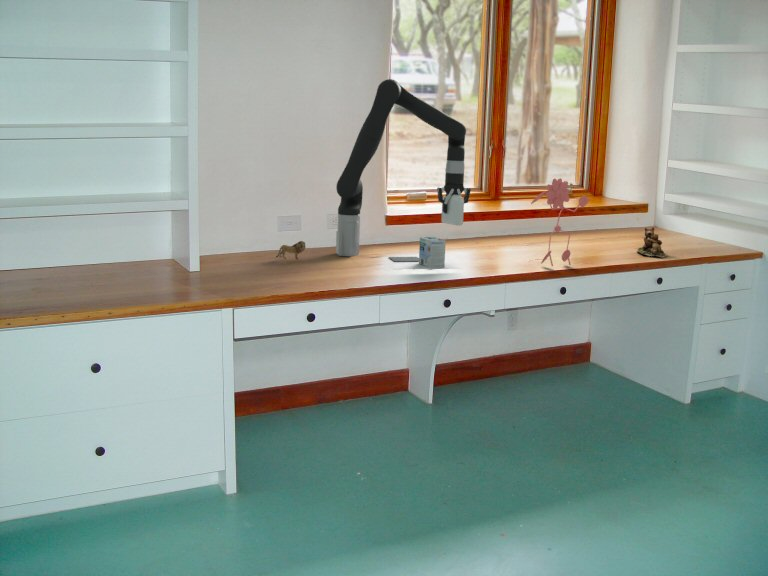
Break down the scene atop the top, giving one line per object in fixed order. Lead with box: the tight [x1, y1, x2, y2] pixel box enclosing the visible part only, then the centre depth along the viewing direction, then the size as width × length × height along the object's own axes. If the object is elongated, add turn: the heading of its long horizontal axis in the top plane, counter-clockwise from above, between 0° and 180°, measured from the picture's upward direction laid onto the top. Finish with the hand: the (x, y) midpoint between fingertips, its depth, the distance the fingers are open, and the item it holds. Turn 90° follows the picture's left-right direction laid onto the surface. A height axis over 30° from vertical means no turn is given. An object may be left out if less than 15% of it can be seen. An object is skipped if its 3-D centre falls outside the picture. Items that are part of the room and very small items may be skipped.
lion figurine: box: [275, 240, 306, 261], centre depth 362 cm, size 12×4×7 cm, turn 93°
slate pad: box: [388, 256, 419, 263], centre depth 368 cm, size 12×10×1 cm
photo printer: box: [441, 195, 465, 226], centre depth 368 cm, size 10×4×12 cm, turn 39°
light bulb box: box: [418, 236, 447, 269], centre depth 357 cm, size 11×7×11 cm, turn 23°
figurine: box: [528, 177, 589, 267], centre depth 369 cm, size 15×26×35 cm, turn 118°
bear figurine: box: [636, 227, 668, 258], centre depth 403 cm, size 14×15×12 cm
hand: (452, 213), depth 368 cm, fingers closed on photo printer, 5 cm apart
